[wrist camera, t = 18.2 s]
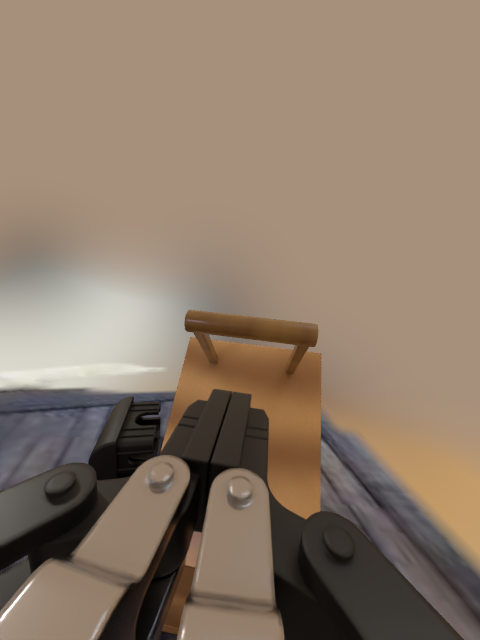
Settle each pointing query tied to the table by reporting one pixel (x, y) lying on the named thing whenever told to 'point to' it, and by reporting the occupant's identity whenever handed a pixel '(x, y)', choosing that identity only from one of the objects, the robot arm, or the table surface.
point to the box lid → (261, 396)
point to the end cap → (126, 439)
